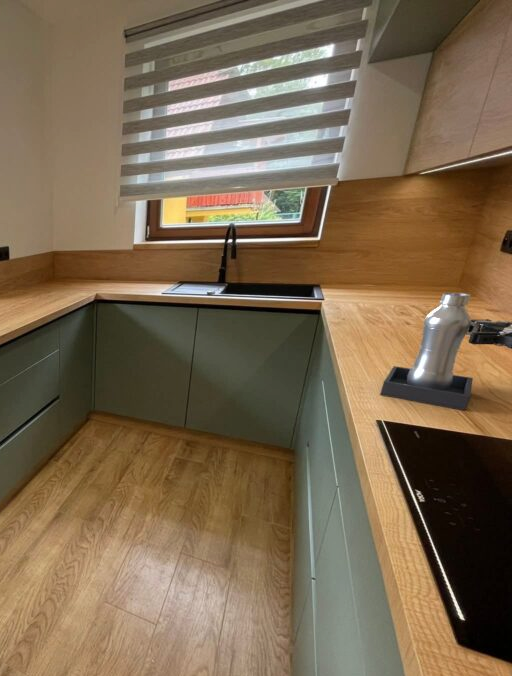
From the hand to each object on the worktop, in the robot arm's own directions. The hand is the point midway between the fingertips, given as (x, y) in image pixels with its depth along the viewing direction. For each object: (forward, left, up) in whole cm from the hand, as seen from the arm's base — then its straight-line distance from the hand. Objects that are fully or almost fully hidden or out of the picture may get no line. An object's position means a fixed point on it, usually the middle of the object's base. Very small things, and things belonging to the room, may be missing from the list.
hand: (453, 332), depth 84 cm
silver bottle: (+1, +1, -13) cm, 13 cm away
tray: (+1, +1, -13) cm, 13 cm away
